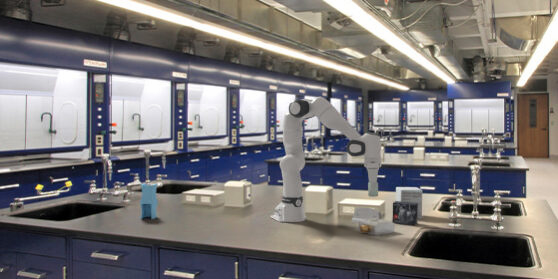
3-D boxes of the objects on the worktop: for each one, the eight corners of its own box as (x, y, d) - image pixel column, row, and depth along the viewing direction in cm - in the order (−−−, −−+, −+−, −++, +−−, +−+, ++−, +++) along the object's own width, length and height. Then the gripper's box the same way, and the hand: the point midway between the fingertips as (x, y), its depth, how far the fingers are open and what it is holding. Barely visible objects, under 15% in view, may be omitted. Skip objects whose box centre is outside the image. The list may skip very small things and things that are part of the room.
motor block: (354, 231, 239) (354, 220, 239) (377, 227, 249) (377, 217, 249) (370, 236, 229) (370, 224, 229) (394, 232, 239) (394, 220, 239)
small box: (392, 223, 261) (392, 202, 261) (394, 221, 267) (395, 200, 267) (415, 225, 255) (415, 204, 254) (417, 223, 261) (418, 202, 260)
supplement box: (422, 219, 274) (422, 190, 273) (400, 218, 274) (400, 189, 273) (416, 214, 287) (416, 187, 286) (395, 214, 287) (395, 186, 286)
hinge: (350, 222, 263) (353, 205, 266) (353, 223, 267) (356, 206, 269) (377, 226, 253) (380, 208, 256) (380, 227, 257) (383, 210, 259)
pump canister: (366, 195, 240) (366, 180, 240) (373, 194, 243) (373, 179, 243) (373, 196, 236) (373, 181, 236) (380, 196, 239) (379, 180, 238)
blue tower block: (157, 216, 276) (157, 183, 275) (152, 219, 268) (152, 185, 267) (145, 216, 276) (145, 183, 276) (140, 218, 269) (139, 185, 268)
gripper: (366, 161, 250) (367, 187, 250) (366, 165, 230) (366, 192, 230) (378, 161, 248) (379, 187, 249) (379, 165, 228) (379, 192, 229)
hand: (373, 189), depth 239 cm, fingers closed on pump canister, 5 cm apart
